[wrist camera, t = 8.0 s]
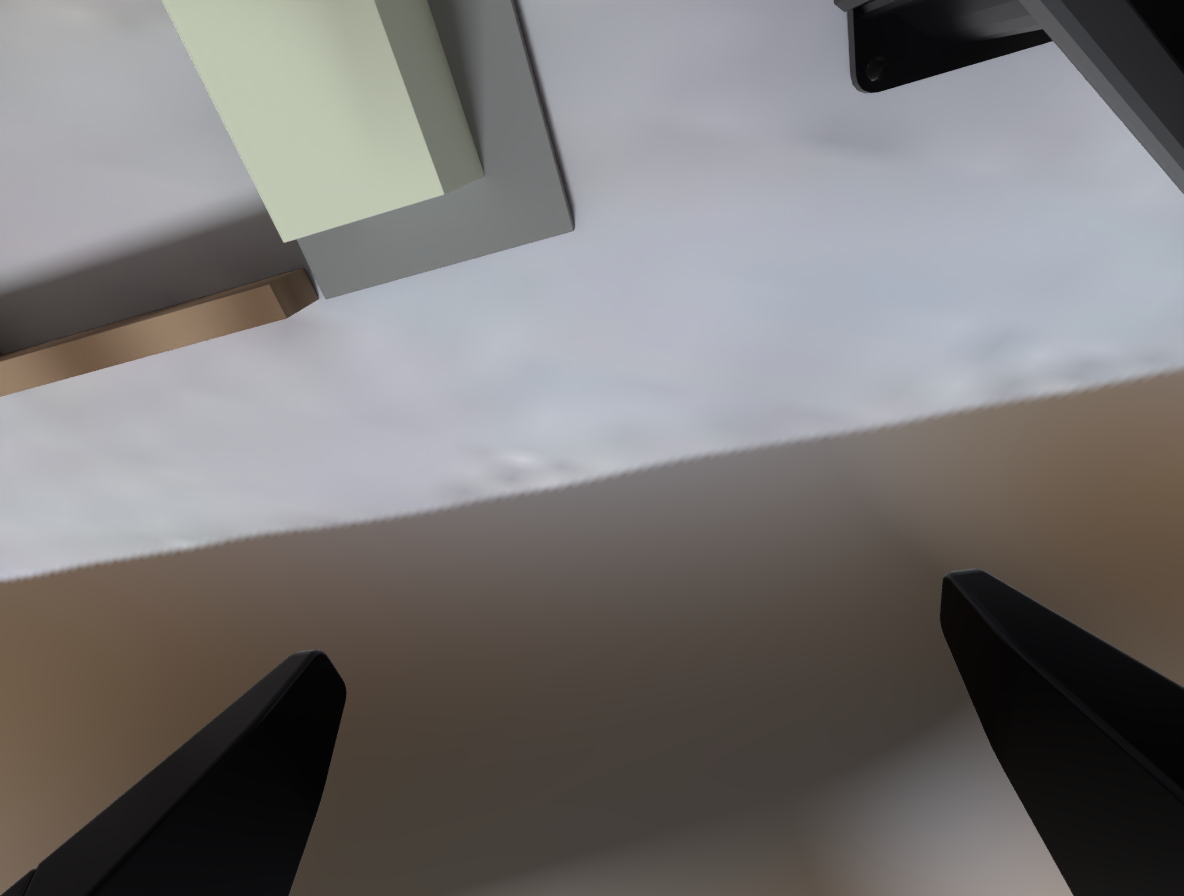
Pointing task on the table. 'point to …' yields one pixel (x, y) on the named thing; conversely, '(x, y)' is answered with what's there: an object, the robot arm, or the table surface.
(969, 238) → the table surface
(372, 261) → the mat
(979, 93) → the table surface
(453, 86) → the sage block
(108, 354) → the frame
